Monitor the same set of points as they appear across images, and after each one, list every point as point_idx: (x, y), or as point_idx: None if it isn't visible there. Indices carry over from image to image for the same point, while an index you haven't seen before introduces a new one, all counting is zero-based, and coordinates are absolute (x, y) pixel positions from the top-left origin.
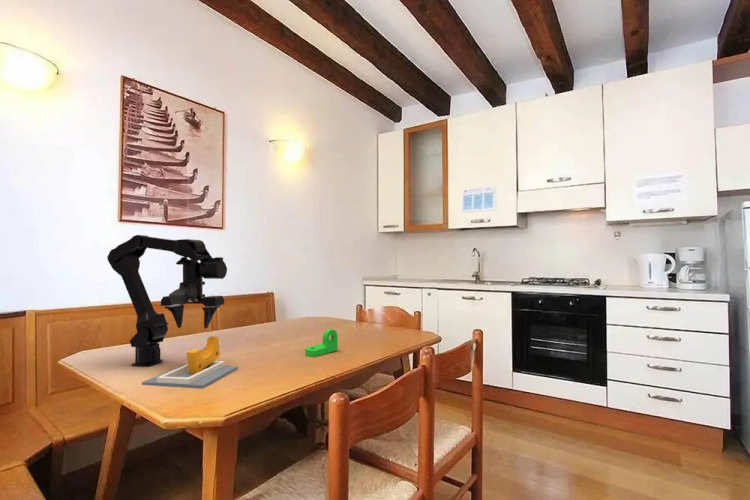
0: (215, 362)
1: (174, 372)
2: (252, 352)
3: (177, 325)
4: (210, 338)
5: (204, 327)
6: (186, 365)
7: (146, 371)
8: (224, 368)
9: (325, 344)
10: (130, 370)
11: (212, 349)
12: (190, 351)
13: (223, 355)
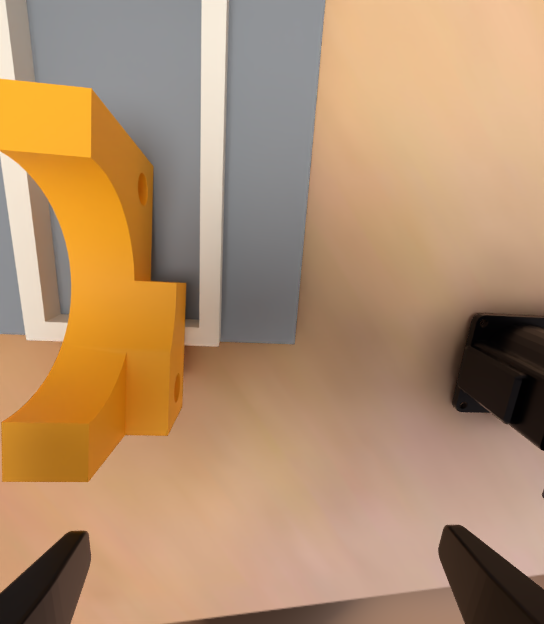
0: None
1: (201, 91)
2: (99, 592)
3: (482, 545)
4: (57, 434)
5: (76, 537)
6: (209, 233)
7: (445, 242)
8: (6, 281)
9: None
10: (535, 253)
11: (63, 361)
12: (63, 108)
13: (213, 532)
